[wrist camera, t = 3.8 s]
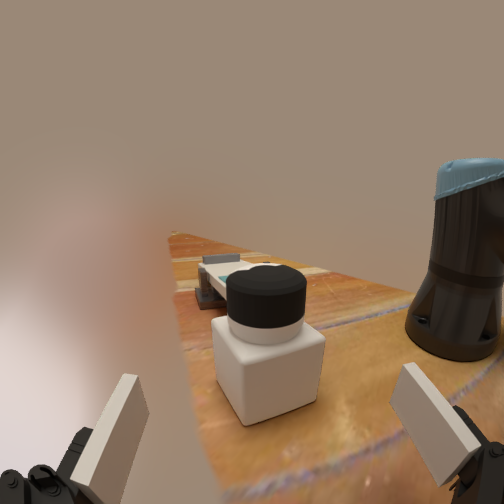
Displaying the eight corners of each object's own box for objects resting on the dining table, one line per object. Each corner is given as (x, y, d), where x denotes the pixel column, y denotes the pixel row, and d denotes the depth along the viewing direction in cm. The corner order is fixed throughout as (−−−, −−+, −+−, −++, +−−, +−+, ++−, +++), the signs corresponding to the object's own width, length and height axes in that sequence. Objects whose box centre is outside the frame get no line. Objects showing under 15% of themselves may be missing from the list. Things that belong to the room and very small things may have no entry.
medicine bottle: (317, 401, 22) (334, 276, 19) (244, 428, 19) (239, 295, 16) (279, 362, 28) (283, 253, 25) (215, 379, 25) (206, 263, 22)
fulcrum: (195, 294, 46) (193, 265, 45) (267, 286, 50) (268, 258, 49) (200, 309, 41) (197, 277, 39) (281, 299, 45) (282, 268, 43)
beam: (198, 270, 57) (197, 256, 56) (240, 266, 59) (239, 252, 59) (228, 302, 30) (226, 275, 30) (303, 292, 33) (302, 267, 32)
